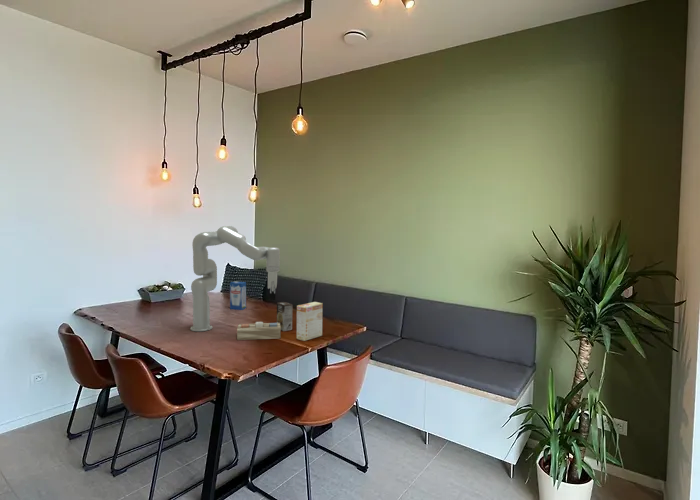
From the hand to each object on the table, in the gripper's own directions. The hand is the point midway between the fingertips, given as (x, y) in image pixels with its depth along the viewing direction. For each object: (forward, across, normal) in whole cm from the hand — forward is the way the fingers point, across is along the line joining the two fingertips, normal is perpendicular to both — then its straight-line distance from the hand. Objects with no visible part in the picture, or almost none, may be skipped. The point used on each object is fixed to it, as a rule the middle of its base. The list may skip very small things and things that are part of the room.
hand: (272, 299), depth 236 cm
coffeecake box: (+21, +6, +22) cm, 31 cm away
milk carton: (+22, -73, -25) cm, 80 cm away
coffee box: (+21, -14, +8) cm, 26 cm away
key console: (+21, +1, -7) cm, 22 cm away
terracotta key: (+18, +1, -15) cm, 24 cm away
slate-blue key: (+18, +1, +1) cm, 18 cm away
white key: (+17, +1, -7) cm, 19 cm away
